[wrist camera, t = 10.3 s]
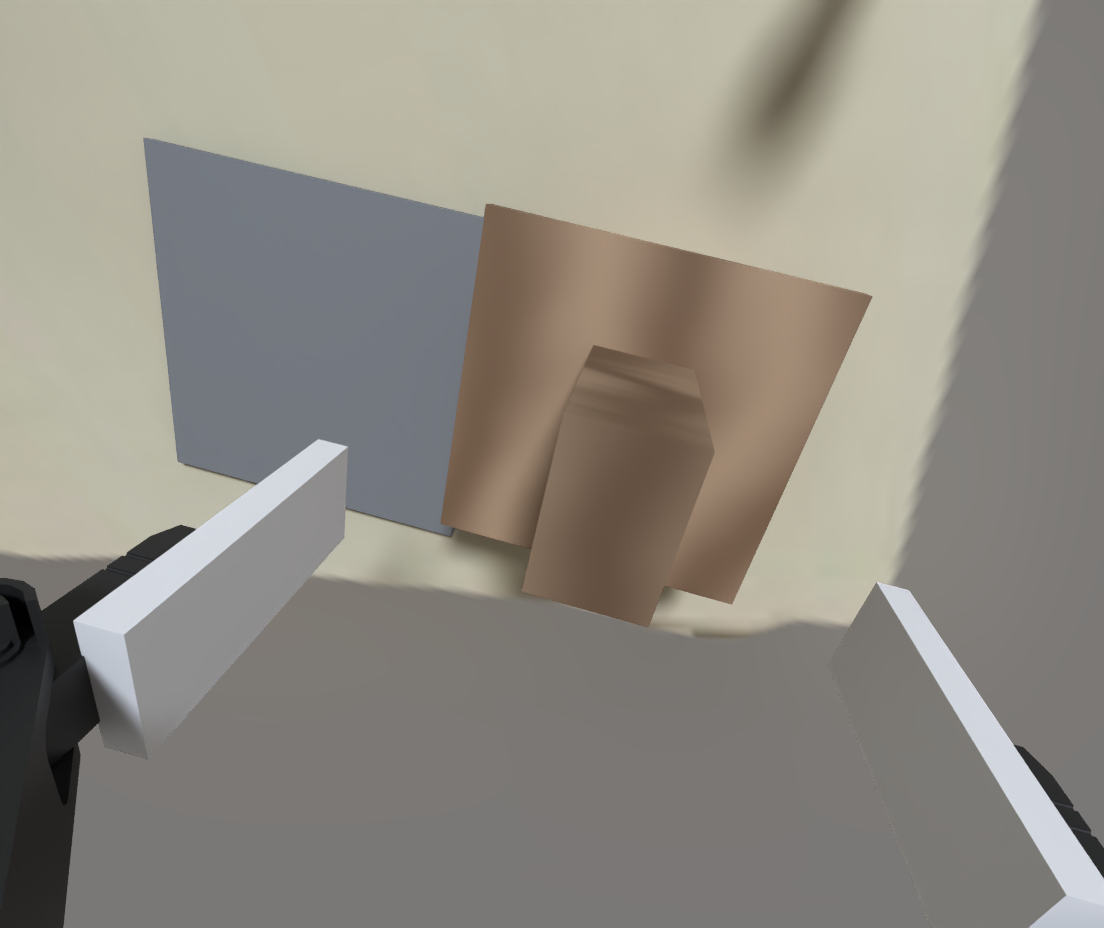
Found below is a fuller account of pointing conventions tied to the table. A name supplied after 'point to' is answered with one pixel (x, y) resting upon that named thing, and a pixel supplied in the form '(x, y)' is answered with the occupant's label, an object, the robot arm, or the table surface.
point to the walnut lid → (633, 409)
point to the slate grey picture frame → (312, 325)
